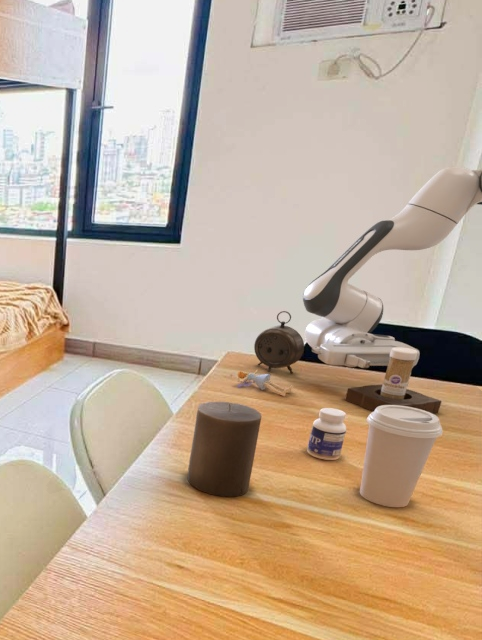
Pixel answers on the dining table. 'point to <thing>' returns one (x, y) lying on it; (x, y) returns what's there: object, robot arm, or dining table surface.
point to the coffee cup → (396, 453)
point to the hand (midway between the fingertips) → (388, 364)
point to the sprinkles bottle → (398, 372)
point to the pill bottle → (327, 434)
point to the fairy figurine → (262, 382)
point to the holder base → (390, 399)
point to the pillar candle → (223, 448)
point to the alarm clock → (279, 346)
